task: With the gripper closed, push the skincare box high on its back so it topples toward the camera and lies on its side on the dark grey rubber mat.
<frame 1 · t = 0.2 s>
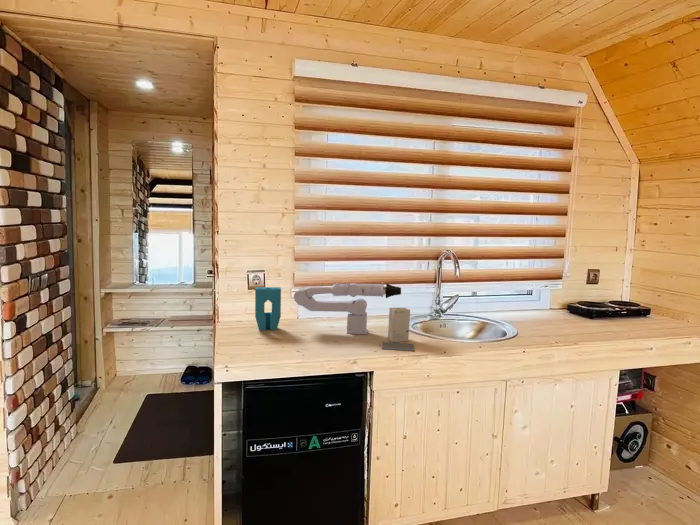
hand: (401, 290, 217), 21 cm above the countertop, tool horizontal, fingers open, 7 cm apart
block: (267, 329, 223), on the countertop
skincare box: (398, 340, 211), on the countertop
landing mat: (397, 346, 201), on the countertop
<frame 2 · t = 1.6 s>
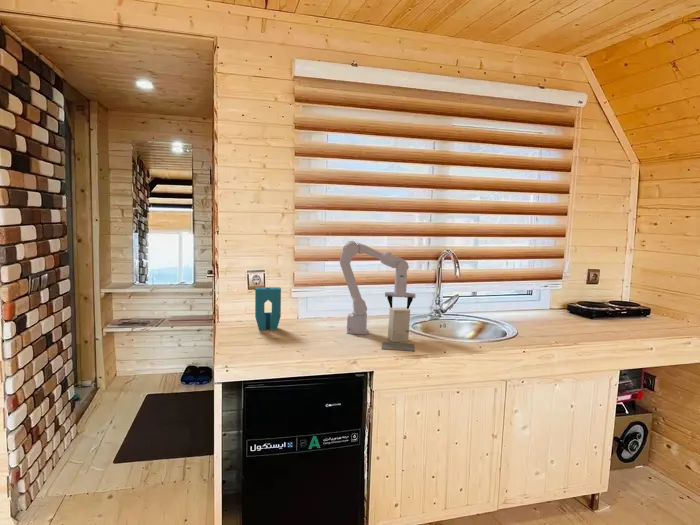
hand: (399, 311, 222), 10 cm above the countertop, tool pointing down, fingers open, 7 cm apart
nothing on the countertop moved.
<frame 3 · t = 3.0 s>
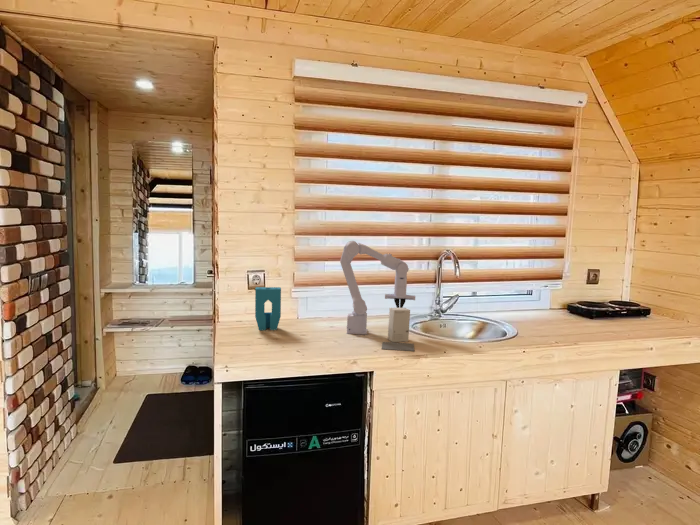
hand: (399, 313, 222), 9 cm above the countertop, tool pointing down, fingers closed
nothing on the countertop moved.
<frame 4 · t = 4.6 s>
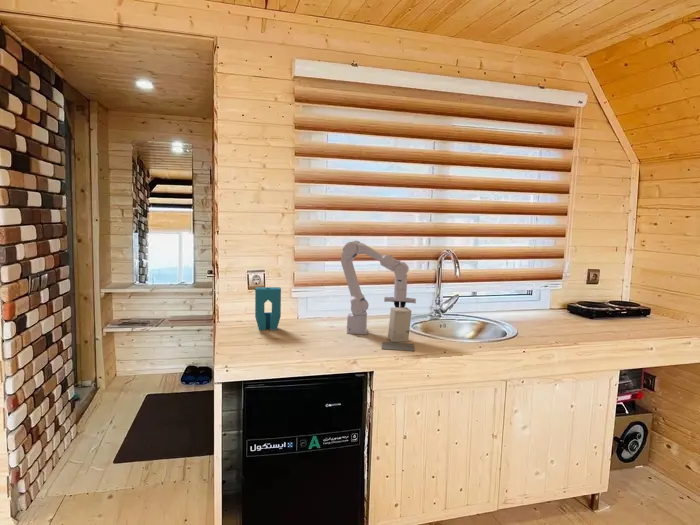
hand: (399, 317, 215), 9 cm above the countertop, tool pointing down, fingers closed
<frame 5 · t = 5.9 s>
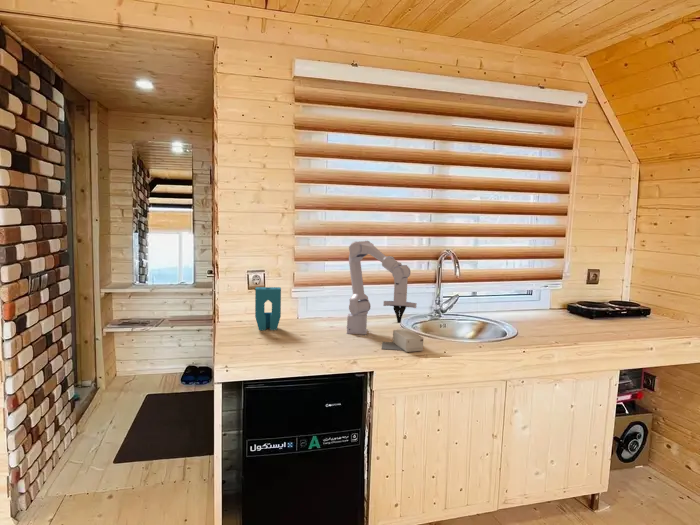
hand: (399, 322, 206), 9 cm above the countertop, tool pointing down, fingers closed
skincare box: (400, 334, 208), point 3 cm above the countertop, touching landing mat
everything else where it was.
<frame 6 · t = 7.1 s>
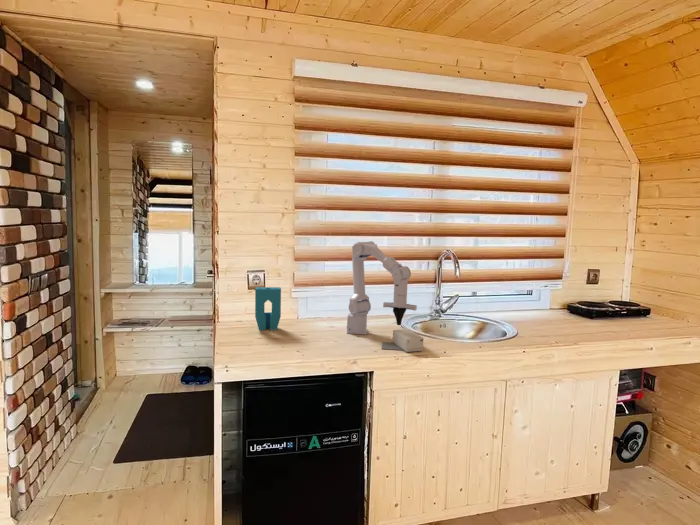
hand: (398, 324, 202), 9 cm above the countertop, tool pointing down, fingers closed
nothing on the countertop moved.
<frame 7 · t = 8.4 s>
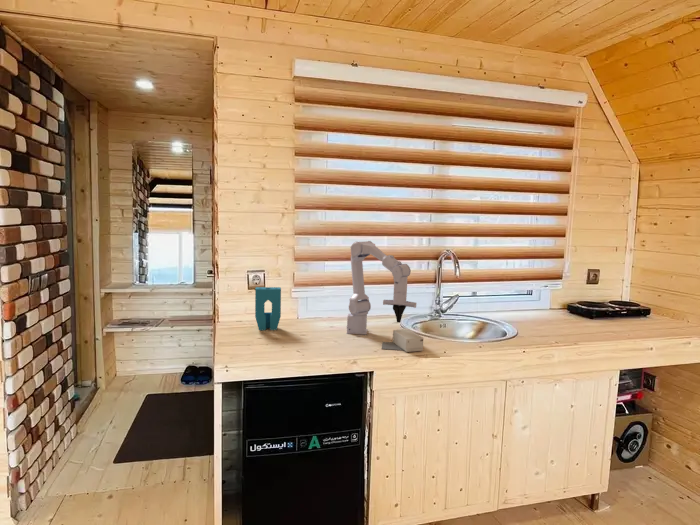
hand: (398, 321, 203), 10 cm above the countertop, tool pointing down, fingers closed
nothing on the countertop moved.
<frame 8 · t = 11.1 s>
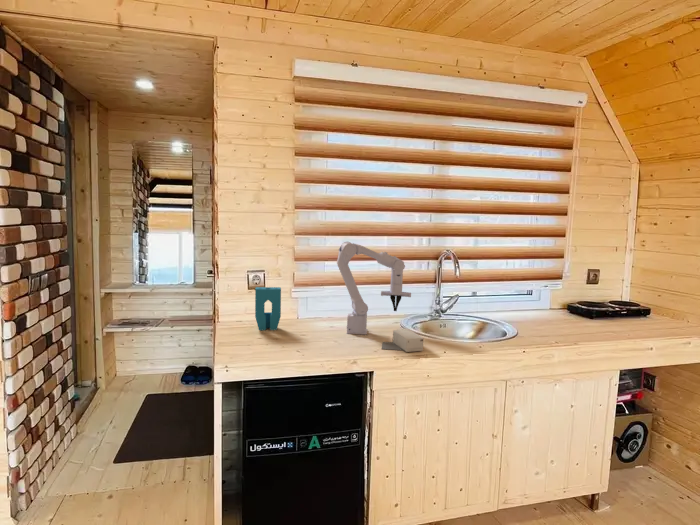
hand: (395, 310, 224), 10 cm above the countertop, tool pointing down, fingers closed
nothing on the countertop moved.
at the end: skincare box tilted 91°; skincare box touching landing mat; skincare box inside the target area (2.6 cm from its centre), point 3.3 cm above the countertop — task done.
